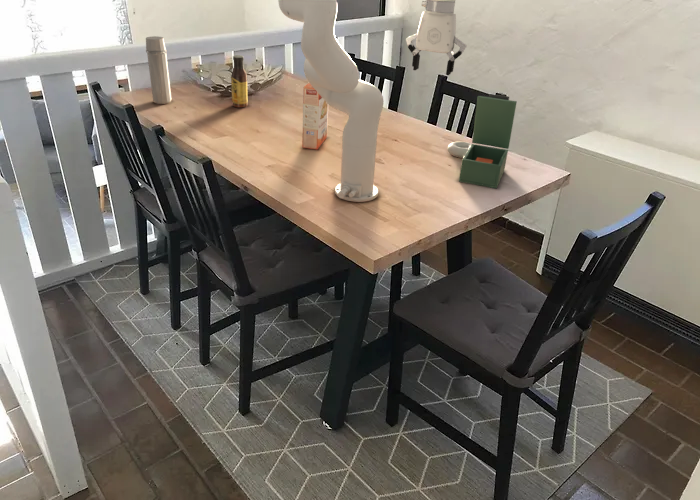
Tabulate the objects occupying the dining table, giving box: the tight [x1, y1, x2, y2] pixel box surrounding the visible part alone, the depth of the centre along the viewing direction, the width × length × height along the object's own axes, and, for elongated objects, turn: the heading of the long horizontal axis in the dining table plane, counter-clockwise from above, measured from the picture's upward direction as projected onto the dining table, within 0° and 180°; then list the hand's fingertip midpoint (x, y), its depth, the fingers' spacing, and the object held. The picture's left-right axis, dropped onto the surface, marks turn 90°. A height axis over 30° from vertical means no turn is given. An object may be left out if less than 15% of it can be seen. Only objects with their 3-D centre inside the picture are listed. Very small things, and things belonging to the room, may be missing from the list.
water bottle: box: [145, 35, 172, 105], centre depth 226 cm, size 9×8×25 cm
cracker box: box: [301, 82, 329, 151], centre depth 195 cm, size 14×6×21 cm, turn 168°
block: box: [475, 157, 493, 164], centre depth 177 cm, size 5×5×5 cm
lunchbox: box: [458, 143, 509, 189], centre depth 179 cm, size 16×12×7 cm
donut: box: [447, 141, 473, 159], centre depth 196 cm, size 10×4×10 cm
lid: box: [471, 93, 517, 150], centre depth 179 cm, size 16×12×6 cm
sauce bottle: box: [230, 54, 249, 108], centre depth 229 cm, size 7×6×20 cm
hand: (431, 71), depth 163 cm, fingers open, 9 cm apart
